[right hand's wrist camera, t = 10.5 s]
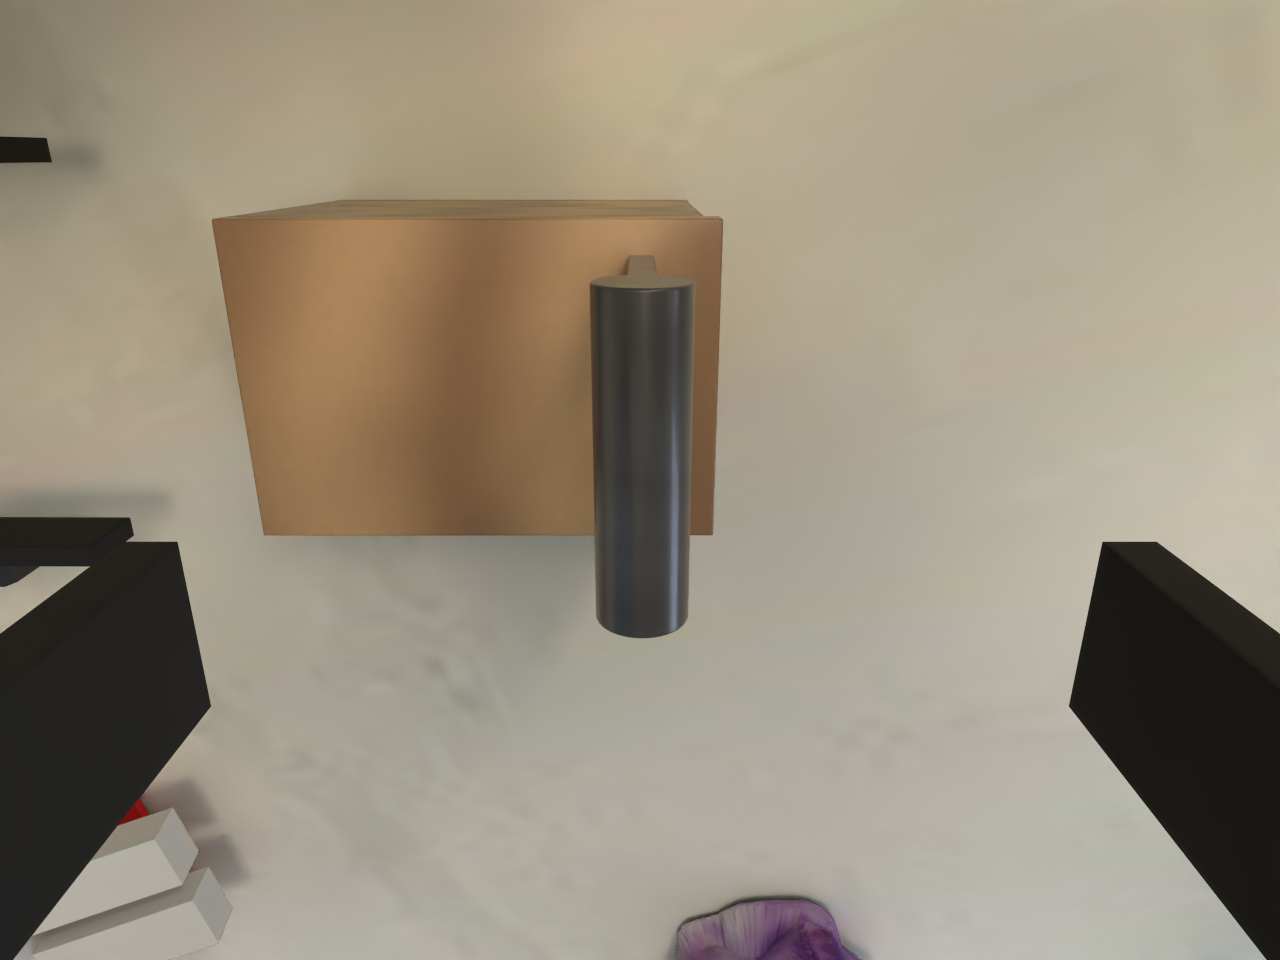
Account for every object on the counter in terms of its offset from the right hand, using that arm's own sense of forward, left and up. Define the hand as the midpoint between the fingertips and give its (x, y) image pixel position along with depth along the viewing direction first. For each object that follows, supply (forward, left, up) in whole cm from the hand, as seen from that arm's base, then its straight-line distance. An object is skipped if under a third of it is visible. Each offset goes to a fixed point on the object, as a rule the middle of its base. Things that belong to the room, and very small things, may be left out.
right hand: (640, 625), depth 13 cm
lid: (+3, -4, -15) cm, 15 cm away
